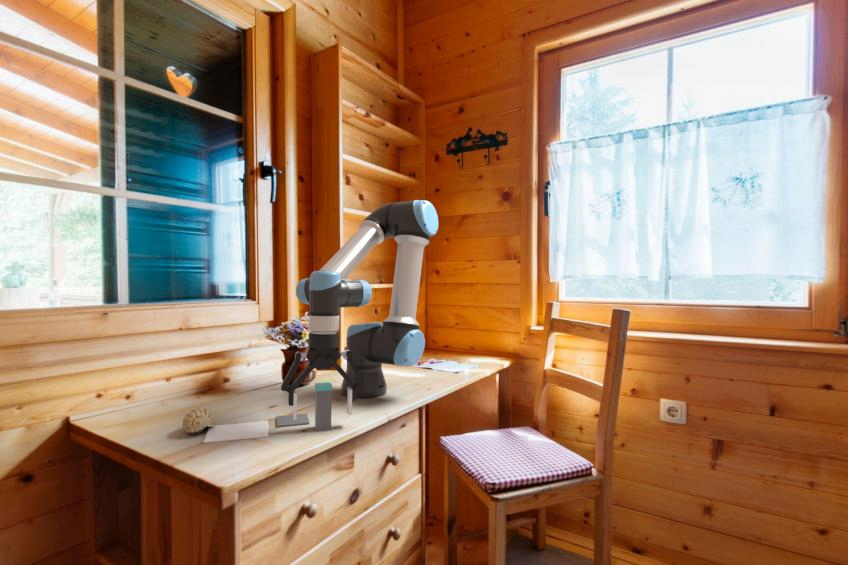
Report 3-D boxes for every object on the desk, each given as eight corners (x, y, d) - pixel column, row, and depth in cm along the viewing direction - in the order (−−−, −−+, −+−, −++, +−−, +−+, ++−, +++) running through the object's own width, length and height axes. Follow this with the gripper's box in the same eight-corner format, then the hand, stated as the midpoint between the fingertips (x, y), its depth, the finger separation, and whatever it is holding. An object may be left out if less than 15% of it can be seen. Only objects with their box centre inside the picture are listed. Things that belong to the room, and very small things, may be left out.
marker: (329, 425, 112) (330, 381, 112) (331, 429, 109) (332, 385, 109) (314, 426, 111) (315, 382, 111) (316, 431, 107) (316, 386, 107)
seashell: (176, 443, 106) (190, 434, 100) (171, 419, 108) (184, 408, 102) (209, 433, 112) (224, 424, 106) (203, 410, 114) (218, 400, 107)
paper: (268, 421, 114) (268, 420, 114) (268, 436, 104) (268, 435, 104) (209, 427, 109) (209, 426, 109) (203, 443, 99) (203, 442, 99)
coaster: (306, 414, 120) (306, 413, 120) (309, 424, 113) (309, 422, 113) (276, 417, 117) (276, 416, 117) (276, 427, 110) (276, 425, 110)
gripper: (369, 329, 117) (367, 407, 117) (271, 331, 109) (270, 415, 109) (375, 332, 110) (374, 416, 110) (271, 335, 102) (270, 425, 102)
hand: (322, 416), depth 110 cm, fingers open, 13 cm apart
